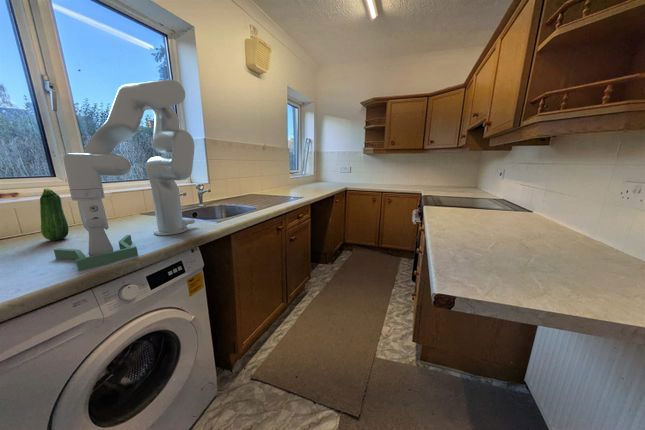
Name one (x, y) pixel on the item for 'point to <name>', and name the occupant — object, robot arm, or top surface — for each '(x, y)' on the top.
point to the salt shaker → (98, 237)
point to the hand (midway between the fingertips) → (98, 250)
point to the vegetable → (52, 216)
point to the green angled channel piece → (98, 259)
